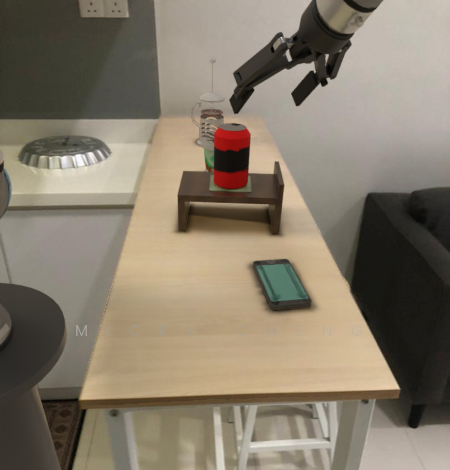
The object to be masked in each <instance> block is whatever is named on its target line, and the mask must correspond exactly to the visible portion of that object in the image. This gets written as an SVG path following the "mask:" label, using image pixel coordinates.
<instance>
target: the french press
mask: <svg viewBox="0 0 450 470" xmlns="http://www.w3.org/2000/svg"><path fill="white" fill-rule="evenodd" d="M208 61H209V63H211V91H210V92H206V93H204V94H202V95H200V96H199V101H197V102H195V103H194V104H193V105H192V107H191V110H190V119H191V121H192V123H193V124H194V125H195V126H196V127H198V135H199V136H198V138H199V139H197V140H196V144H197V145H198V146H201V141H202V139H203V138H204V139H205V140H214V132H215V131H216V130H217V129H218V127H219V125H221V124H225V122H224V121H225V117H224V111H223V110H222V109H218V108H205V109H201V110H200V116H199V122H197V120H196V119H195V117H194V108H195V106H196V105H197V104H198V106H199V108H201V107H202V102H205V103H222V102H224V101H225V100H226V97H224V96H223V95H222V94H220V93H217V92H214V91H213V85H214V84H213V83H214V75H213V74H214V69H213V68H214V63H216V62H217V61H216V59H215V58H214V57H211V58H209V60H208Z"/></svg>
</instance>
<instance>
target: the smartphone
mask: <svg viewBox="0 0 450 470" xmlns="http://www.w3.org/2000/svg"><path fill="white" fill-rule="evenodd" d="M252 268H253V271H254V274H255V276H256V278H257V280H258V283H259V286H260V287H261V290H262V293H263V294H264V297H265V299H266V302H267V303H268V305H269V308H270V309H271V310H272V311H283V310H293V309H306V308H310V307H311V306H312V298H311V297H310V295H309V293H308V292H307V290H306V288H305V286H304V284H303V283H302V281H301V279H300V278H299V276H298V274H297V272H296V270H295V268H294V266H293V265H292V264H291V262H290V260H289V259H287V258H278V259H276V258H275V259H262V260H254V261H253V262H252Z"/></svg>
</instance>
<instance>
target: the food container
mask: <svg viewBox="0 0 450 470" xmlns="http://www.w3.org/2000/svg"><path fill="white" fill-rule="evenodd" d="M200 146H201V147H202V148H203V155H204V164H205V172H214V140H205V139H204V138H203V139H202V141H201V145H200Z"/></svg>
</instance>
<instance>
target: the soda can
mask: <svg viewBox="0 0 450 470" xmlns="http://www.w3.org/2000/svg"><path fill="white" fill-rule="evenodd" d="M216 129H217V130H216V131H214V179H213V181H214V183H215V184H216V185H217V186H218V187H221V188H225V189H239V188H242V187H244V186H246V184H247V183H248V173H250V172H249V171H250V168H249V167H250V156H251V155H250V152H251V136H252V134H251V132H250V130H249V129H248V127H247V126H246V125H245V124H242V123H236V122H226V123H225V122H224V124H221V125H219V127H218V128H216Z"/></svg>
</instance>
